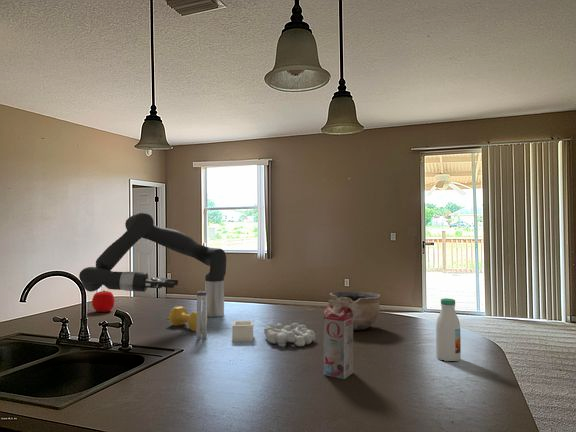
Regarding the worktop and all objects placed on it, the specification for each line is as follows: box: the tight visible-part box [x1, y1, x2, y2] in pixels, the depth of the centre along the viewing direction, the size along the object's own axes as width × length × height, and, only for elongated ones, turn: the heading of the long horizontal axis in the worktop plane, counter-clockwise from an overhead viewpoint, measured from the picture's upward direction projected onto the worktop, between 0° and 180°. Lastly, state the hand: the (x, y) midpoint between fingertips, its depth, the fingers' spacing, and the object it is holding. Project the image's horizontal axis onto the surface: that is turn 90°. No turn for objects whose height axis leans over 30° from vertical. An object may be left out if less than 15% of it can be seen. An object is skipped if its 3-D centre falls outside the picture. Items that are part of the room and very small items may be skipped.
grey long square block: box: [196, 290, 208, 340], centre depth 170 cm, size 4×4×18 cm
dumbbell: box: [168, 305, 209, 333], centre depth 188 cm, size 19×9×8 cm, turn 47°
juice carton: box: [323, 299, 354, 380], centre depth 130 cm, size 7×7×22 cm
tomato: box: [91, 290, 115, 313], centre depth 222 cm, size 10×11×11 cm
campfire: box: [263, 322, 316, 347], centre depth 167 cm, size 22×21×6 cm
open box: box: [231, 320, 254, 342], centre depth 170 cm, size 8×8×6 cm
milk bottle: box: [435, 297, 462, 362], centre depth 145 cm, size 8×8×20 cm
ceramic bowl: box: [329, 290, 381, 331], centre depth 187 cm, size 22×22×15 cm
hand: (176, 283), depth 170 cm, fingers open, 8 cm apart
